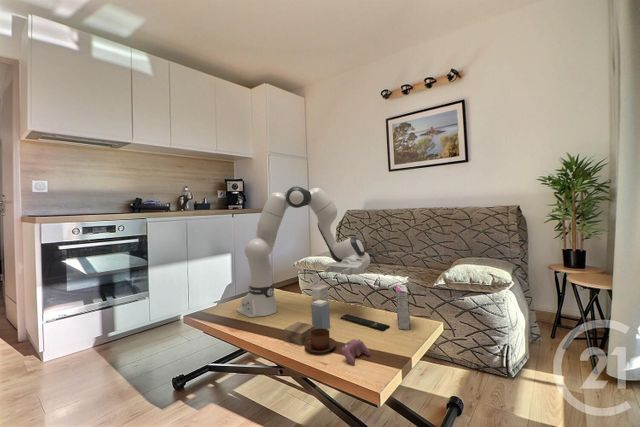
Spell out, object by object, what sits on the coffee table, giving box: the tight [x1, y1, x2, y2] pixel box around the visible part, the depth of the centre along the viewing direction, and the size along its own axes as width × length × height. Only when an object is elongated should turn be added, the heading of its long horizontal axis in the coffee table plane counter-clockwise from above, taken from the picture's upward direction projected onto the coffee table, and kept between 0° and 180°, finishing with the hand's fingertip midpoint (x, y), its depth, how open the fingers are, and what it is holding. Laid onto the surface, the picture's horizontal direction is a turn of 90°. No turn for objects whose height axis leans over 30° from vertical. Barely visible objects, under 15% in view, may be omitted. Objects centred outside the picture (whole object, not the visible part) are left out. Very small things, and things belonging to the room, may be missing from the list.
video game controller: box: [341, 339, 371, 366], centre depth 108 cm, size 10×5×7 cm, turn 133°
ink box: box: [311, 279, 329, 304], centre depth 160 cm, size 9×5×15 cm, turn 148°
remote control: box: [339, 313, 391, 332], centre depth 139 cm, size 5×24×1 cm, turn 46°
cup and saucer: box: [304, 328, 337, 354], centre depth 117 cm, size 12×12×6 cm
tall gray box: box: [311, 300, 331, 330], centre depth 135 cm, size 6×6×12 cm
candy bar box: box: [395, 284, 411, 330], centre depth 135 cm, size 11×5×16 cm, turn 168°
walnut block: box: [283, 321, 315, 347], centre depth 126 cm, size 9×9×5 cm
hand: (333, 271), depth 144 cm, fingers open, 8 cm apart
